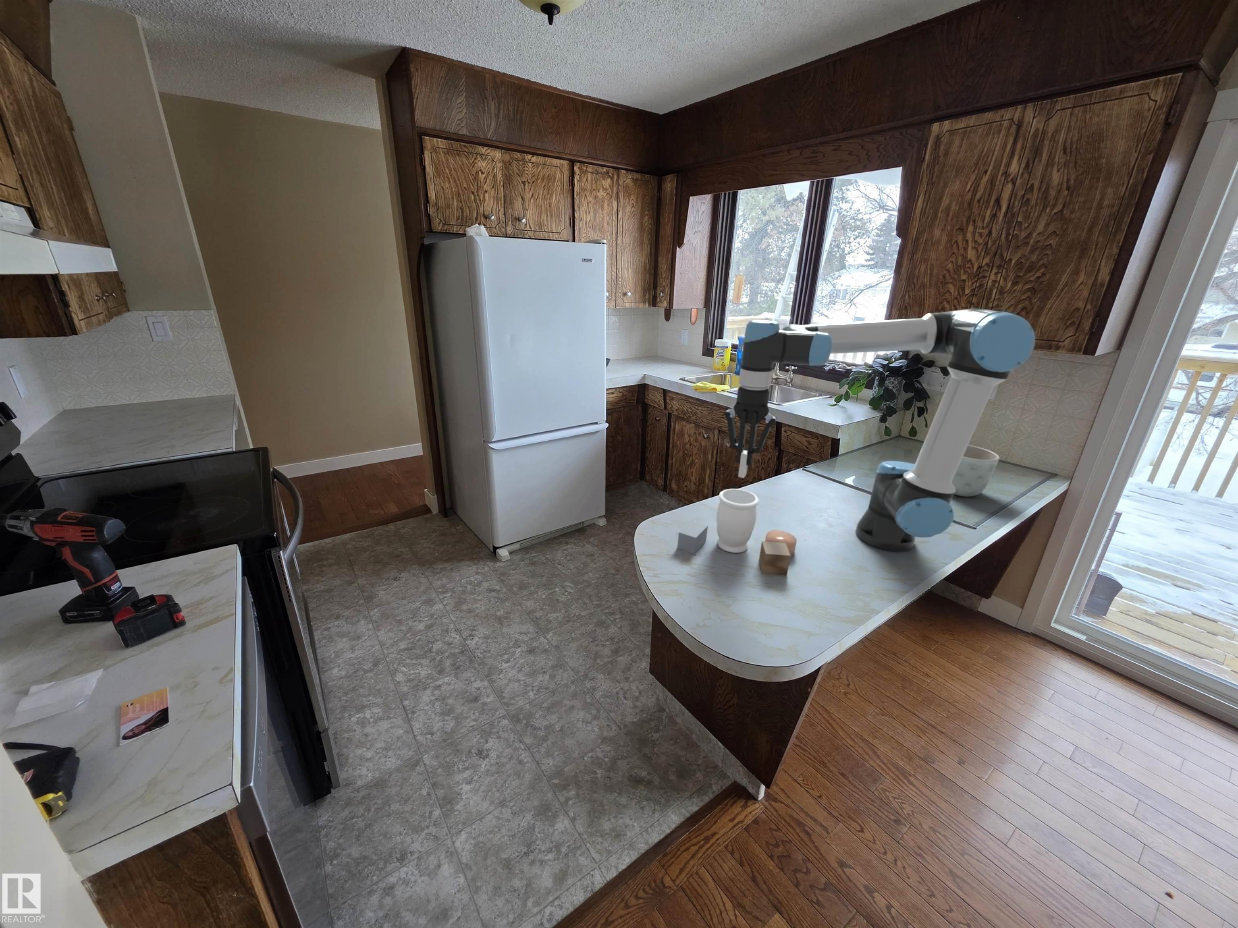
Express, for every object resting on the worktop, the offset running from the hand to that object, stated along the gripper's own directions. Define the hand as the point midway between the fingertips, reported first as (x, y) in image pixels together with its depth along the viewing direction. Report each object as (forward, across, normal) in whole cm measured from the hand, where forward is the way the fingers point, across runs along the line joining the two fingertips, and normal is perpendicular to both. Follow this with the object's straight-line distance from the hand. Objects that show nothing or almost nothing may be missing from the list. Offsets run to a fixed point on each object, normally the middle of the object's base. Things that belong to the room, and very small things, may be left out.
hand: (742, 475), depth 130 cm
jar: (+21, 0, 0) cm, 21 cm away
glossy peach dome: (+21, -12, -4) cm, 25 cm away
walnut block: (+21, -12, +6) cm, 25 cm away
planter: (+22, -62, -77) cm, 101 cm away
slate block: (+21, +10, +5) cm, 24 cm away
